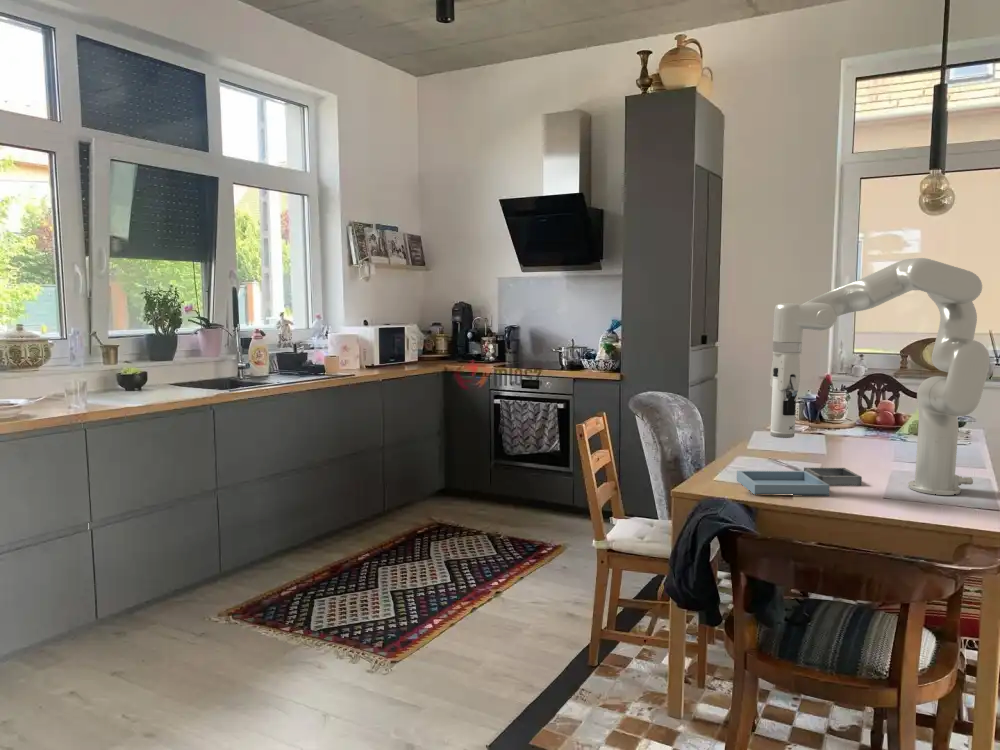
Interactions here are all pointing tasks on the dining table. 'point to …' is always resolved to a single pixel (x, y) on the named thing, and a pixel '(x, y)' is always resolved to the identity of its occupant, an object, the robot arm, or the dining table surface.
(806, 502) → the dining table surface
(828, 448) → the dining table surface
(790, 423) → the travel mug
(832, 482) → the small grey square tray
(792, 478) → the tray
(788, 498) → the dining table surface
